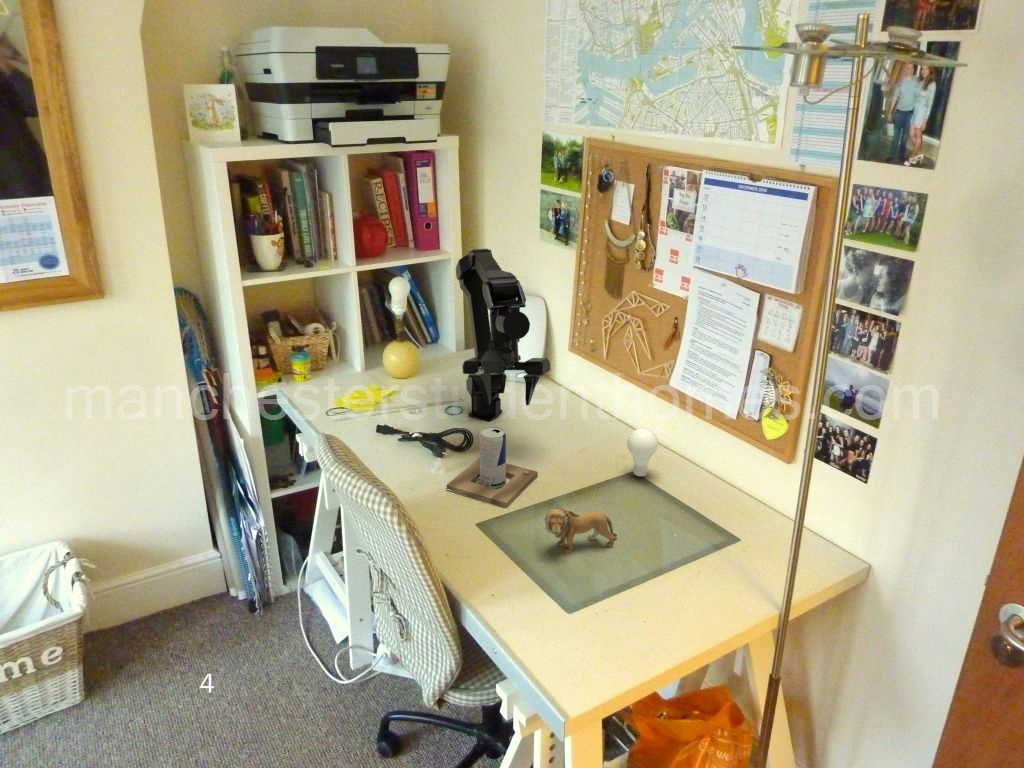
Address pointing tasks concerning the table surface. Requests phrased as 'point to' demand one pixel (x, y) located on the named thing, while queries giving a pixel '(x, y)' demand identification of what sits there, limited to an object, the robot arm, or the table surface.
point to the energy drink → (492, 457)
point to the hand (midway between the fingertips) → (508, 404)
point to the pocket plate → (497, 497)
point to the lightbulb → (642, 449)
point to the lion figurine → (578, 526)
